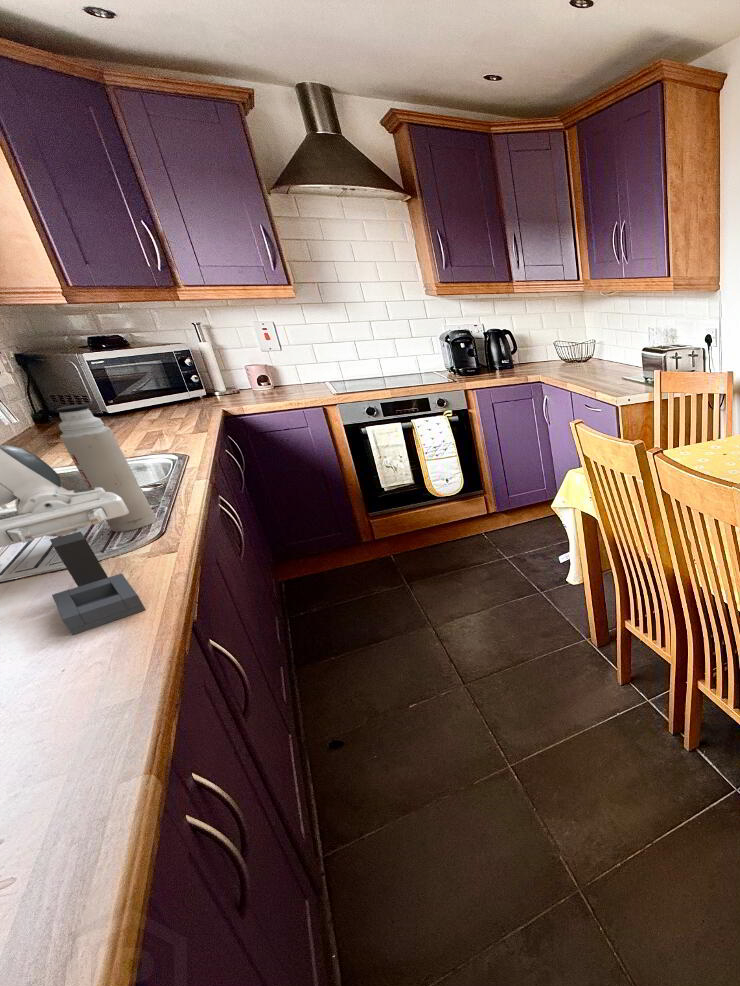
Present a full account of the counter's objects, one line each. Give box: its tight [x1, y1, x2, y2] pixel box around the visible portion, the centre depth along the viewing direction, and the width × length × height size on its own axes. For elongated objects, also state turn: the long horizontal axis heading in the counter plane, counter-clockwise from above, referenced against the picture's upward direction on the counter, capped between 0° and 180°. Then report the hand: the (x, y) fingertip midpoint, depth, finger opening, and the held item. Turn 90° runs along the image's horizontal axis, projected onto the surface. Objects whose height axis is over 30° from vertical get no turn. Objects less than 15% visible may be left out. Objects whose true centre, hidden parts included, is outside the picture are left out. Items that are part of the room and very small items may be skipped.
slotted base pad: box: [51, 573, 146, 636], centre depth 99 cm, size 14×9×3 cm, turn 52°
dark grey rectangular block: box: [49, 531, 109, 587], centre depth 106 cm, size 6×4×10 cm, turn 52°
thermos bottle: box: [56, 403, 157, 533], centre depth 131 cm, size 8×8×28 cm
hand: (61, 528), depth 111 cm, fingers open, 8 cm apart
